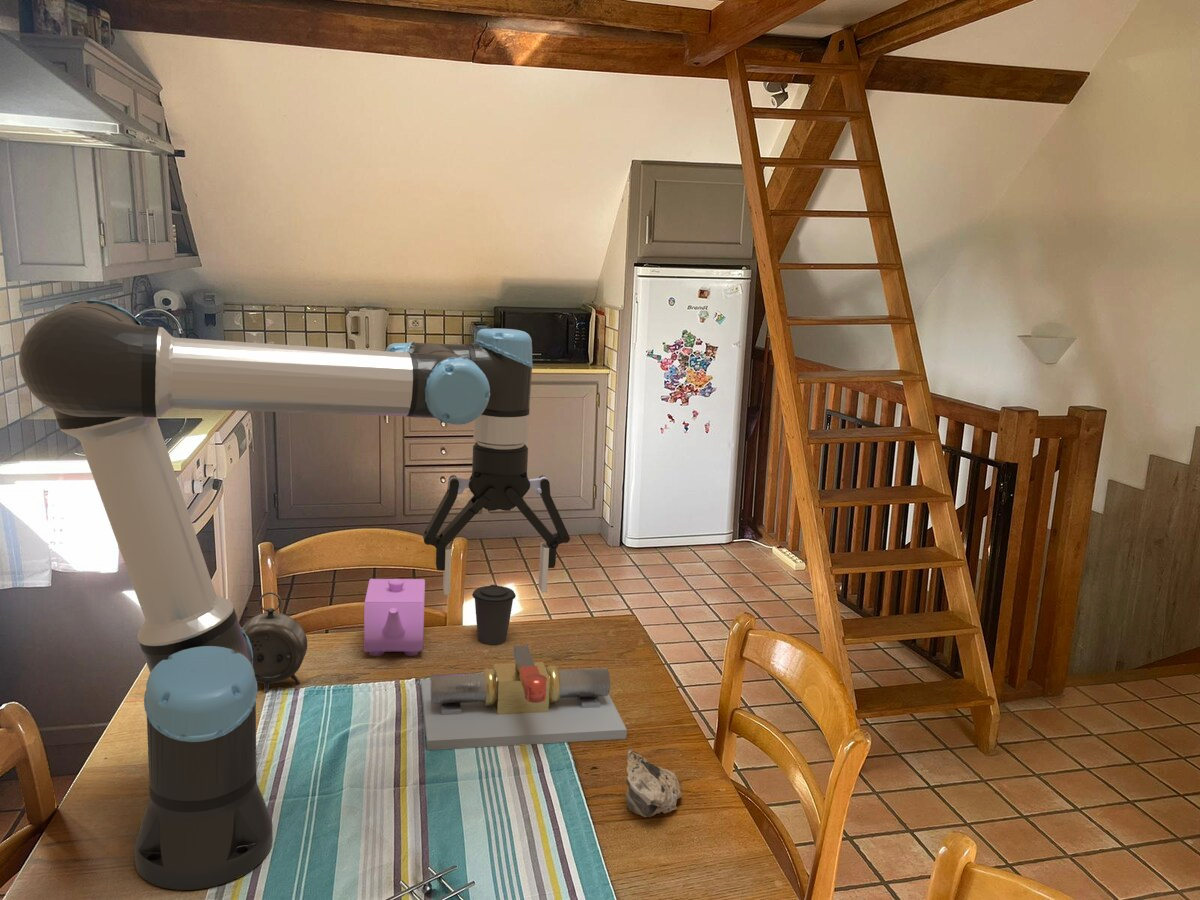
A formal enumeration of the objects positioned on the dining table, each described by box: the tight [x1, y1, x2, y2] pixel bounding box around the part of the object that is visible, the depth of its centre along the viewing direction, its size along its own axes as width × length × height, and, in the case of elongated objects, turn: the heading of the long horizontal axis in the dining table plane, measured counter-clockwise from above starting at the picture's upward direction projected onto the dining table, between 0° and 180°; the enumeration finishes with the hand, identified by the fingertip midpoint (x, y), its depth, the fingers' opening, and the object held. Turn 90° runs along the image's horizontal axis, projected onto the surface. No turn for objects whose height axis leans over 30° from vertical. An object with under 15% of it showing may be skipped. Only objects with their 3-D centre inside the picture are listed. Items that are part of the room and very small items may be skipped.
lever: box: [513, 645, 547, 703], centre depth 144 cm, size 16×3×5 cm, turn 13°
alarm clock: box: [241, 591, 308, 693], centre depth 154 cm, size 11×5×16 cm, turn 96°
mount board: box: [420, 678, 628, 751], centre depth 152 cm, size 20×30×2 cm, turn 103°
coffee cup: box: [471, 584, 517, 646], centre depth 178 cm, size 8×8×10 cm
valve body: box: [430, 661, 611, 715], centre depth 151 cm, size 6×28×6 cm, turn 103°
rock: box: [625, 748, 683, 818], centre depth 129 cm, size 9×7×10 cm
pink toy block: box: [363, 578, 426, 657], centre depth 171 cm, size 20×10×12 cm, turn 9°
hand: (495, 590), depth 135 cm, fingers open, 13 cm apart
